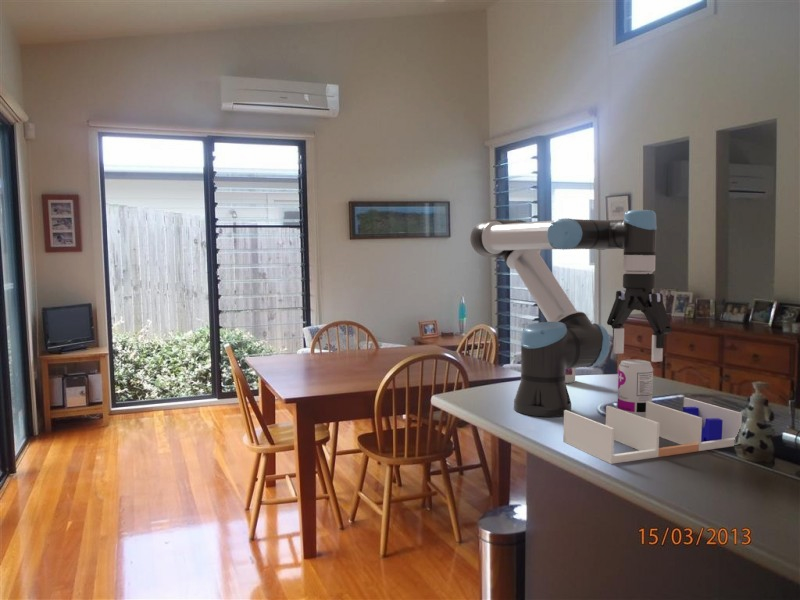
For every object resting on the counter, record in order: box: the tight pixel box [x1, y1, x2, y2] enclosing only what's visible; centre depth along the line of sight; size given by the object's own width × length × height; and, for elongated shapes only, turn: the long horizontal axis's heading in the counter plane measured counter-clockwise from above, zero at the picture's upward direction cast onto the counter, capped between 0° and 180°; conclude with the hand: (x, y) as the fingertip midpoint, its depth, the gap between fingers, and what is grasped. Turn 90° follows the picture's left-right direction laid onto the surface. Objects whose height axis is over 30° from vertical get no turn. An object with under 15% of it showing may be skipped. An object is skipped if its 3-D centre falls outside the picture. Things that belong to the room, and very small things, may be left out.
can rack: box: [562, 397, 743, 465], centre depth 142 cm, size 35×16×7 cm, turn 111°
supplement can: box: [616, 359, 654, 418], centre depth 161 cm, size 8×8×15 cm
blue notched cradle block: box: [682, 406, 723, 442], centre depth 146 cm, size 12×4×6 cm, turn 2°
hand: (636, 357), depth 160 cm, fingers open, 13 cm apart
